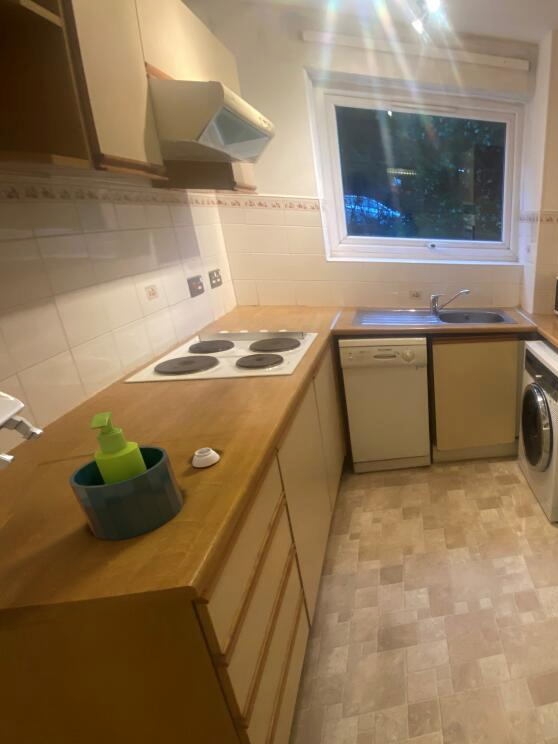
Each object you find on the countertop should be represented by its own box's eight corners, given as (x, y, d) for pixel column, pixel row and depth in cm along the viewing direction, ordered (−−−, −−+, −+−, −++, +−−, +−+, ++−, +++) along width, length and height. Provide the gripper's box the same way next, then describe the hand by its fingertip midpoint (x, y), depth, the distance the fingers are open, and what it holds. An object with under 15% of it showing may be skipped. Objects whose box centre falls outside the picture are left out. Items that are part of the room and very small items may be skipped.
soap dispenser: (116, 528, 76) (72, 428, 69) (122, 507, 82) (82, 412, 74) (157, 516, 79) (120, 419, 72) (161, 496, 85) (126, 404, 77)
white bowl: (218, 454, 101) (192, 461, 98) (214, 443, 99) (188, 450, 96) (221, 463, 97) (194, 471, 94) (218, 452, 96) (190, 459, 93)
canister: (79, 549, 73) (53, 495, 68) (109, 503, 84) (88, 455, 80) (174, 527, 78) (155, 476, 74) (190, 487, 89) (174, 440, 85)
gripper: (-135, 420, 56) (2, 467, 63) (-34, 369, 73) (64, 410, 80) (-167, 458, 56) (-26, 500, 63) (-59, 397, 73) (42, 436, 80)
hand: (25, 449), depth 72 cm, fingers open, 8 cm apart
